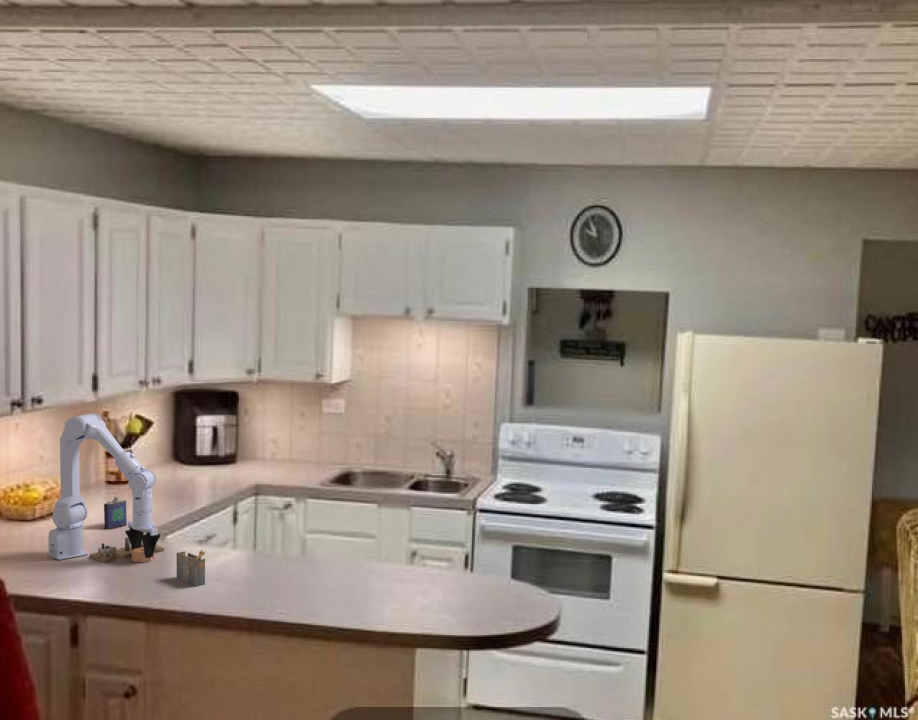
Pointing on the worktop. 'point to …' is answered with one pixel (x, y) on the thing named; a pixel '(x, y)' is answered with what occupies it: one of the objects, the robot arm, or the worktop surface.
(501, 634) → the worktop surface
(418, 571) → the worktop surface
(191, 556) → the grey-brown boxy piece
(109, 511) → the flask
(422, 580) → the worktop surface
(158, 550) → the gear board
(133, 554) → the gear
